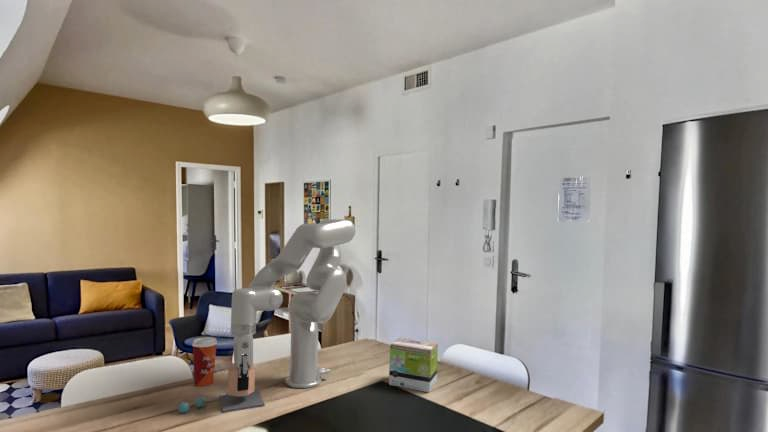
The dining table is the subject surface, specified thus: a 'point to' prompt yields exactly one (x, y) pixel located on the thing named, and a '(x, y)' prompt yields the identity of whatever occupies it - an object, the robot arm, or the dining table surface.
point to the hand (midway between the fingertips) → (241, 385)
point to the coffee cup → (204, 360)
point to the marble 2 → (199, 402)
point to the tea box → (413, 364)
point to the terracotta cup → (233, 379)
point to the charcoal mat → (241, 402)
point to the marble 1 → (183, 407)
